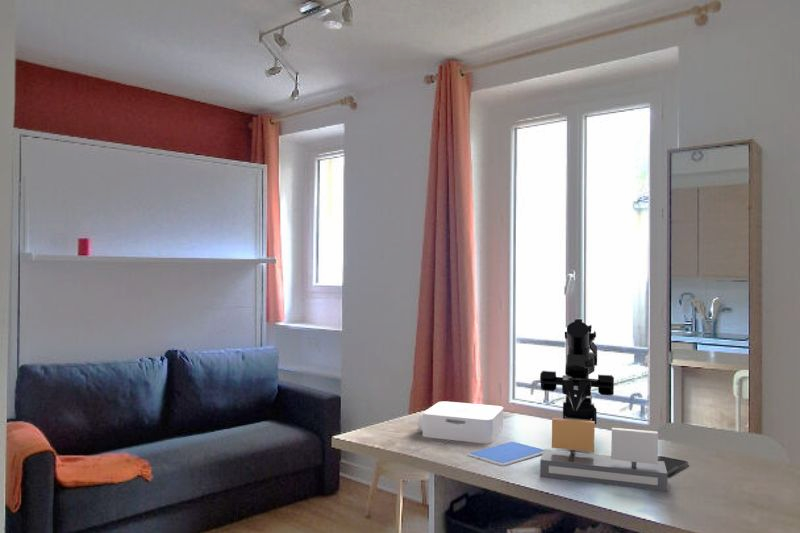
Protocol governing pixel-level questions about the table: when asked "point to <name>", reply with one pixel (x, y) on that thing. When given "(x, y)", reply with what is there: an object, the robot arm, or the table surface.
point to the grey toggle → (634, 446)
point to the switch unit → (602, 470)
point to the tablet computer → (506, 453)
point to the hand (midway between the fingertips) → (575, 409)
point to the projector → (462, 422)
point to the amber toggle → (573, 434)
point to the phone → (673, 465)
